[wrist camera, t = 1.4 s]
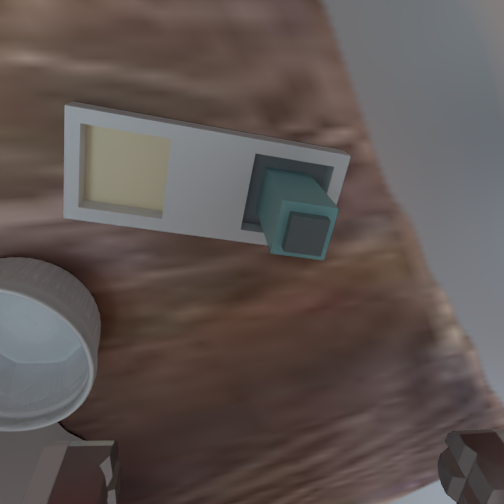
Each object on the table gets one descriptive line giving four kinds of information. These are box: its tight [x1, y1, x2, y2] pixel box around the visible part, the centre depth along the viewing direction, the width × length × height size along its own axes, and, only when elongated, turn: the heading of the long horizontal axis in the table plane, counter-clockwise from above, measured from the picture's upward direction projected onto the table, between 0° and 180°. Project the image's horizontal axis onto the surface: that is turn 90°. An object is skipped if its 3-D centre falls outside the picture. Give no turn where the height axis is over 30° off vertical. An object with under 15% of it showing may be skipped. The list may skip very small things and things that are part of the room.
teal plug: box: [256, 166, 339, 260], centre depth 30 cm, size 4×4×9 cm
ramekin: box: [0, 257, 101, 432], centre depth 34 cm, size 13×13×7 cm
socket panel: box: [63, 101, 351, 245], centre depth 32 cm, size 8×20×2 cm, turn 79°
